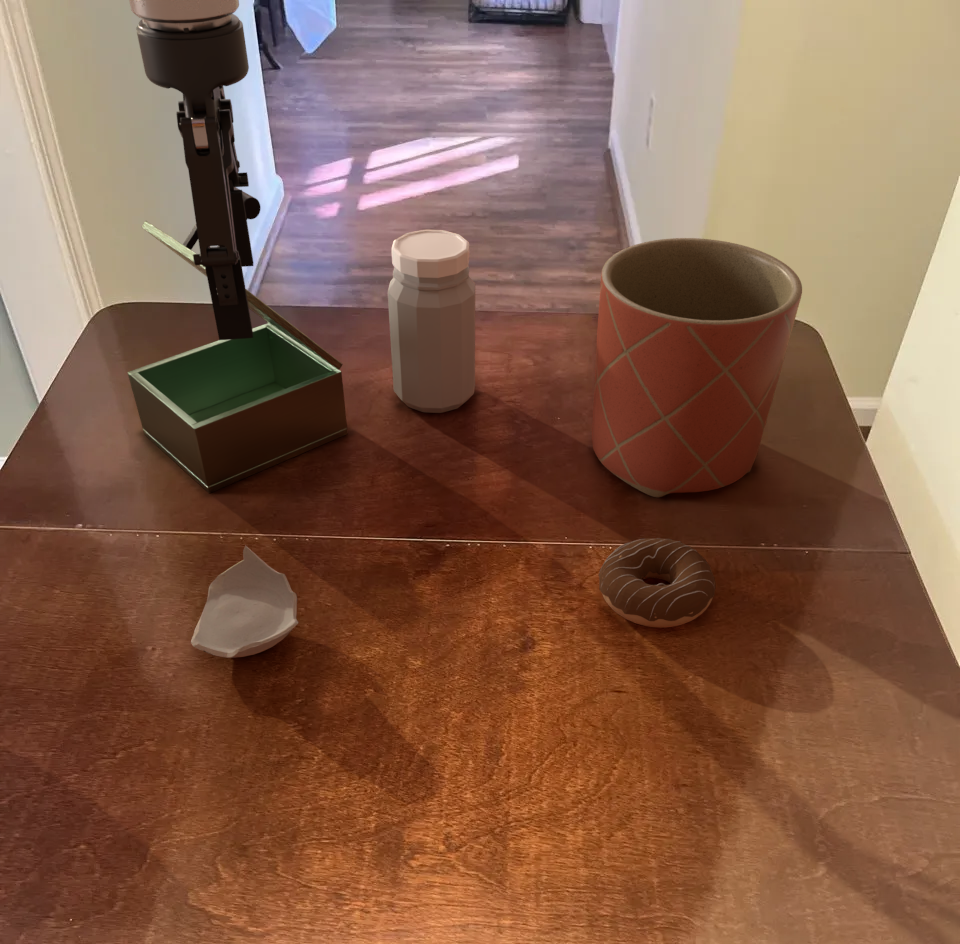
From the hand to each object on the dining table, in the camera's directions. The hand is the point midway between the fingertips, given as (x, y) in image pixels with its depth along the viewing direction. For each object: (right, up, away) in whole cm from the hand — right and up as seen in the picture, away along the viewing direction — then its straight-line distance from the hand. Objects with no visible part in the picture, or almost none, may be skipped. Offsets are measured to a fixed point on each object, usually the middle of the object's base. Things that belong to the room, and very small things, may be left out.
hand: (237, 299), depth 85 cm
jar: (+16, -1, +32) cm, 35 cm away
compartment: (-5, -6, +25) cm, 26 cm away
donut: (+37, -26, +6) cm, 46 cm away
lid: (-3, +5, +16) cm, 17 cm away
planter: (+42, -9, +23) cm, 49 cm away
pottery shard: (+1, -29, +2) cm, 29 cm away
